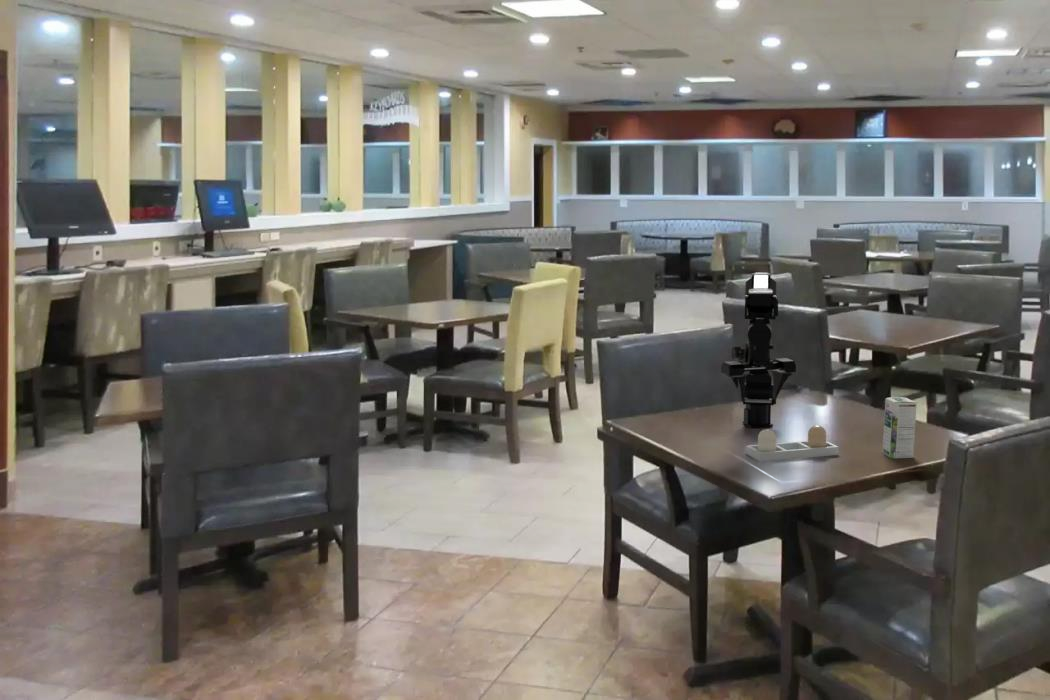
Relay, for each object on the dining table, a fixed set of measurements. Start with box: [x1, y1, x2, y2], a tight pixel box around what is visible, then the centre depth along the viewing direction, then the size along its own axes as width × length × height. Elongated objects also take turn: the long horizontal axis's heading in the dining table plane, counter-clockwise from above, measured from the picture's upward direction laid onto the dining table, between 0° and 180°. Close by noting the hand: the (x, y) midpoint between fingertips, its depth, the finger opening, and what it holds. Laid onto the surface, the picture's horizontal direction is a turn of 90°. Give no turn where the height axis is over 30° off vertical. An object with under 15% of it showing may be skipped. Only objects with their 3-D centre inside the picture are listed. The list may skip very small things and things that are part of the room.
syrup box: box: [882, 396, 918, 459], centre depth 255 cm, size 6×6×14 cm
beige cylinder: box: [807, 424, 827, 448], centre depth 259 cm, size 4×4×7 cm
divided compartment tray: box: [745, 440, 840, 462], centre depth 258 cm, size 21×8×2 cm, turn 104°
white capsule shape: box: [757, 428, 777, 452], centre depth 256 cm, size 4×4×7 cm
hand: (758, 399), depth 267 cm, fingers open, 9 cm apart
